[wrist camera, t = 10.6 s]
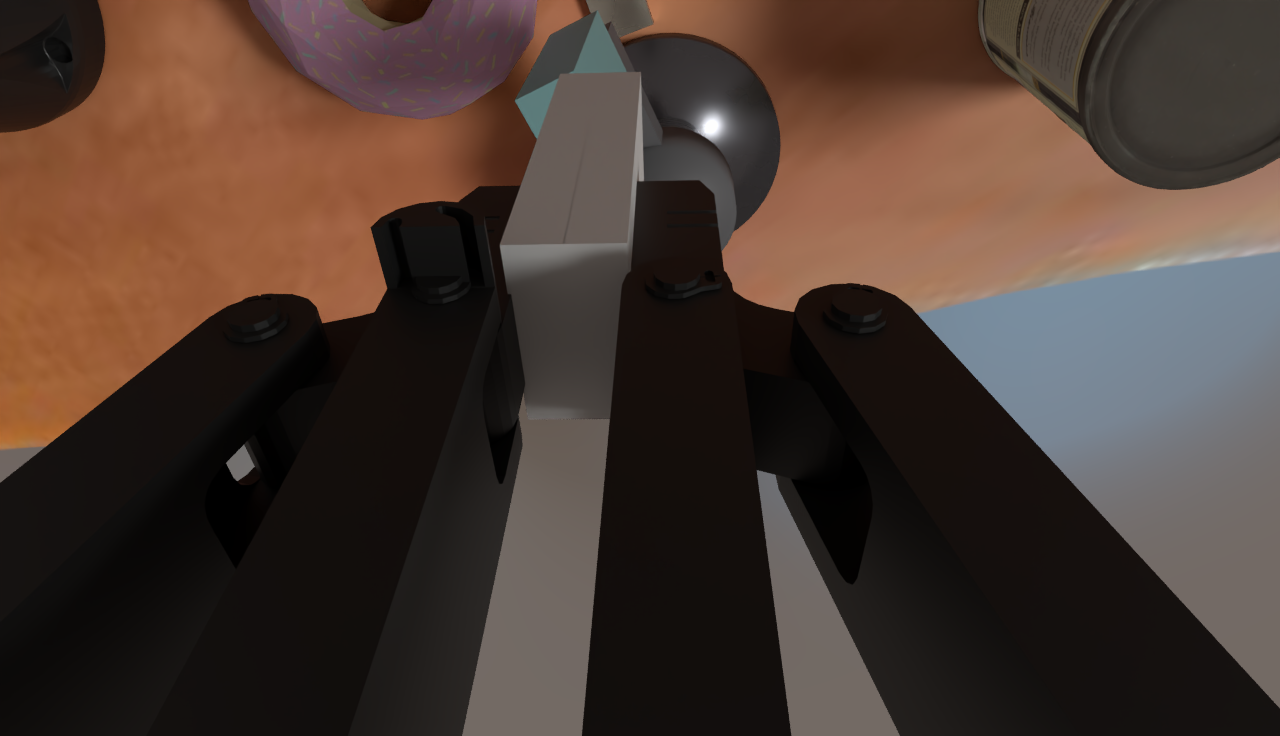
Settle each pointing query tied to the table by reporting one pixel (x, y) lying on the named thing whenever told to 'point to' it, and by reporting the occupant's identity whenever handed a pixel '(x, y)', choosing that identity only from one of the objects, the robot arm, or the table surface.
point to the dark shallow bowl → (704, 97)
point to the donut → (402, 50)
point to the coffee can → (1151, 80)
